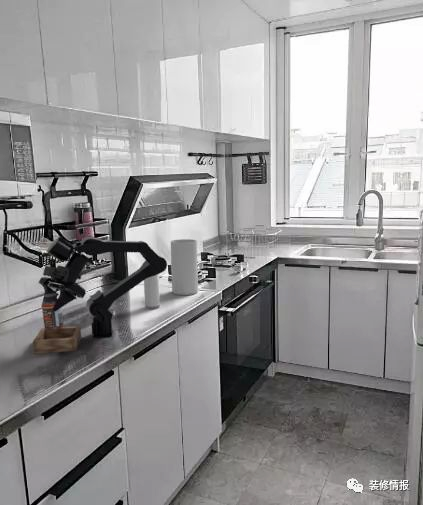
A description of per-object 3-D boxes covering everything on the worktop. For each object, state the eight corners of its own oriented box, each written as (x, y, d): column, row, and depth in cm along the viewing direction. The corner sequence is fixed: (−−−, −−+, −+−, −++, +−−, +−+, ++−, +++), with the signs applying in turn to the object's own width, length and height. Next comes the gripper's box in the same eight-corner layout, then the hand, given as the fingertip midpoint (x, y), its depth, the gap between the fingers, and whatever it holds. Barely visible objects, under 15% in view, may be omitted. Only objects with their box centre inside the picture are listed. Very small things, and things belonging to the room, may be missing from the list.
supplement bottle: (40, 330, 150) (36, 297, 148) (52, 324, 155) (48, 292, 153) (56, 331, 148) (51, 297, 146) (67, 325, 153) (63, 292, 151)
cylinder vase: (175, 289, 230) (173, 239, 226) (200, 289, 228) (199, 239, 224) (169, 295, 218) (167, 242, 214) (195, 295, 216) (194, 243, 212)
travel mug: (163, 306, 199) (161, 260, 196) (153, 310, 194) (151, 263, 191) (151, 304, 203) (149, 259, 199) (142, 308, 197) (140, 262, 194)
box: (81, 337, 162) (80, 326, 161) (75, 350, 149) (74, 338, 149) (42, 339, 160) (41, 328, 159) (33, 353, 147) (32, 341, 147)
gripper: (40, 253, 156) (13, 292, 150) (74, 258, 145) (47, 301, 138) (62, 271, 164) (38, 309, 157) (96, 277, 152) (72, 318, 146)
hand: (48, 309), depth 149 cm, fingers closed on supplement bottle, 6 cm apart
